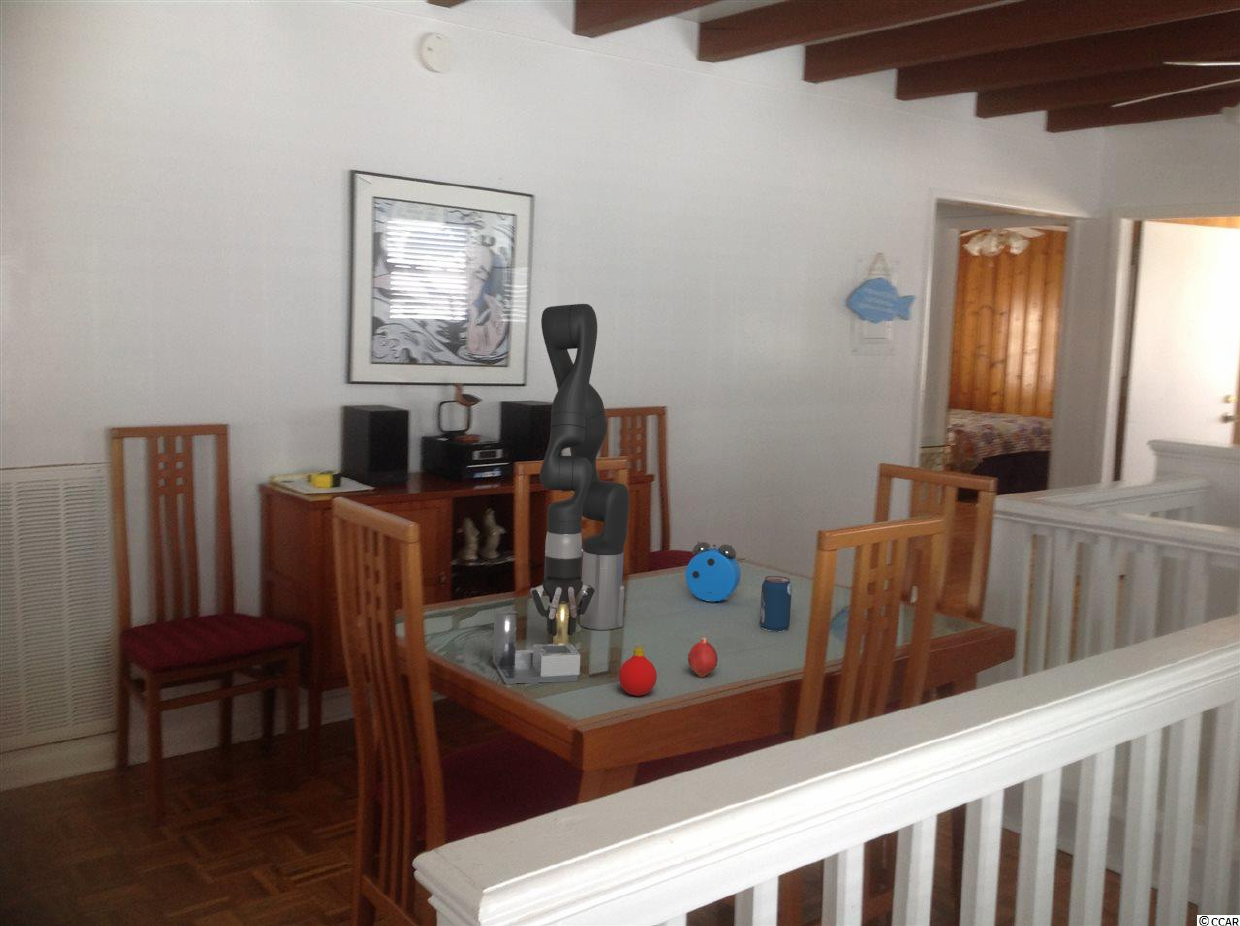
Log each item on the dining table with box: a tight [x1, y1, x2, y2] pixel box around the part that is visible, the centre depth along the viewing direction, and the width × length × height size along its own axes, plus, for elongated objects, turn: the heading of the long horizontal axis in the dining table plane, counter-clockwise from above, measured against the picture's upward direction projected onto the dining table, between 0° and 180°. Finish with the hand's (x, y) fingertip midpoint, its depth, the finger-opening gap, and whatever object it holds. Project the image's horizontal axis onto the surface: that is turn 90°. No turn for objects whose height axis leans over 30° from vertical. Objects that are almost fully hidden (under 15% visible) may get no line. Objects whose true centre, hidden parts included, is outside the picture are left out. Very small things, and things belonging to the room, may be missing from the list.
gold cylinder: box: [552, 602, 570, 644], centre depth 222 cm, size 3×3×10 cm
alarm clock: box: [685, 541, 741, 602], centre depth 275 cm, size 13×6×15 cm, turn 71°
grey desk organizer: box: [492, 609, 581, 685], centre depth 210 cm, size 15×12×11 cm
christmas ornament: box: [618, 641, 658, 697], centre depth 200 cm, size 7×7×10 cm
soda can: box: [759, 575, 793, 631], centre depth 251 cm, size 7×7×12 cm
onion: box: [687, 637, 719, 678], centre depth 213 cm, size 6×6×8 cm
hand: (560, 634), depth 223 cm, fingers closed on gold cylinder, 3 cm apart
